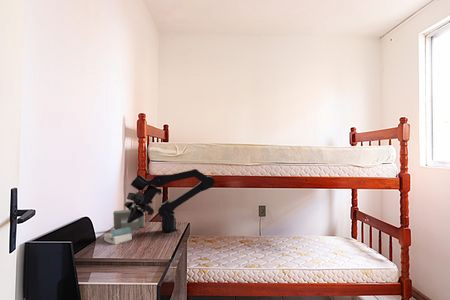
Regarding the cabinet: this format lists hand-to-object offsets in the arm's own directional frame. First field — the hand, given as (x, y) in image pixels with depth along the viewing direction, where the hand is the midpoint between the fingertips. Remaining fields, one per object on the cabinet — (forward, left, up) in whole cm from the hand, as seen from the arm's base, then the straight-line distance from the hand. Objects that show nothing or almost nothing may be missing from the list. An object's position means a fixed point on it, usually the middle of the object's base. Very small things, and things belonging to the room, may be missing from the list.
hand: (127, 222), depth 144 cm
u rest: (+5, 0, -7) cm, 9 cm away
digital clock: (-12, -17, -7) cm, 22 cm away
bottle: (0, 0, -4) cm, 4 cm away
